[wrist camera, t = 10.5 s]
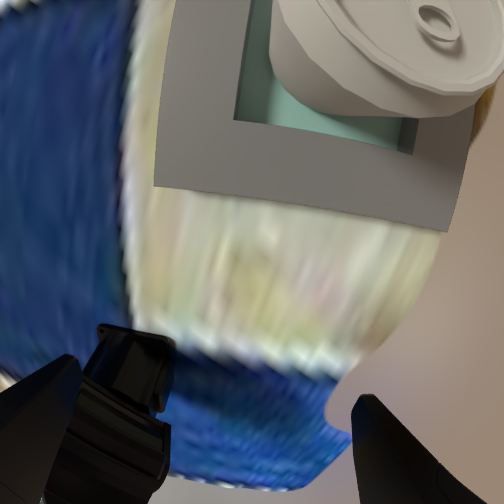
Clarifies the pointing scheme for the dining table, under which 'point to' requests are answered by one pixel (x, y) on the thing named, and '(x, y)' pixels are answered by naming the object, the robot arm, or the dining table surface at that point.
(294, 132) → the pocket frame
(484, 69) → the can
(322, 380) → the dining table surface
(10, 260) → the dining table surface
